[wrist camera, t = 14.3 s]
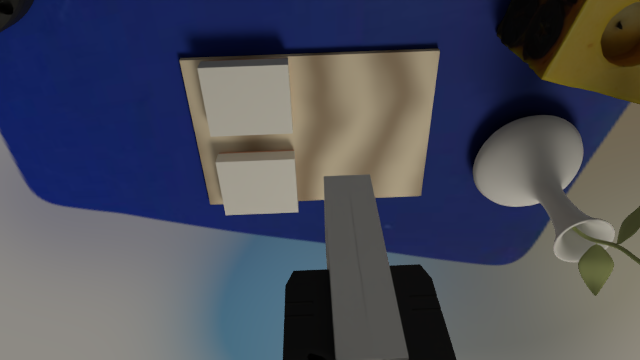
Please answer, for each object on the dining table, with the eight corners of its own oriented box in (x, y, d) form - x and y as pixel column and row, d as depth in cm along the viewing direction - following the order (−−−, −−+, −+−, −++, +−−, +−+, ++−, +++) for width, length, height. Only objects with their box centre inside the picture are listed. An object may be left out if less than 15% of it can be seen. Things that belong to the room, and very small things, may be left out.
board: (211, 201, 52) (210, 204, 52) (180, 58, 42) (179, 60, 42) (419, 192, 52) (420, 195, 52) (438, 48, 42) (439, 50, 42)
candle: (548, -88, 36) (619, -70, 28) (655, -54, 38) (750, -28, 30) (490, 35, 42) (535, 80, 34) (585, 60, 44) (649, 108, 36)
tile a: (293, 123, 46) (213, 126, 46) (288, 56, 42) (201, 59, 42) (292, 133, 44) (210, 136, 44) (287, 64, 40) (197, 68, 40)
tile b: (298, 200, 52) (228, 203, 52) (294, 148, 48) (218, 151, 48) (298, 212, 50) (225, 215, 50) (294, 159, 46) (215, 162, 46)
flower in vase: (526, 207, 54) (660, 418, 34) (447, 175, 51) (543, 388, 31) (609, 118, 48) (837, 317, 27) (524, 76, 44) (711, 264, 24)
